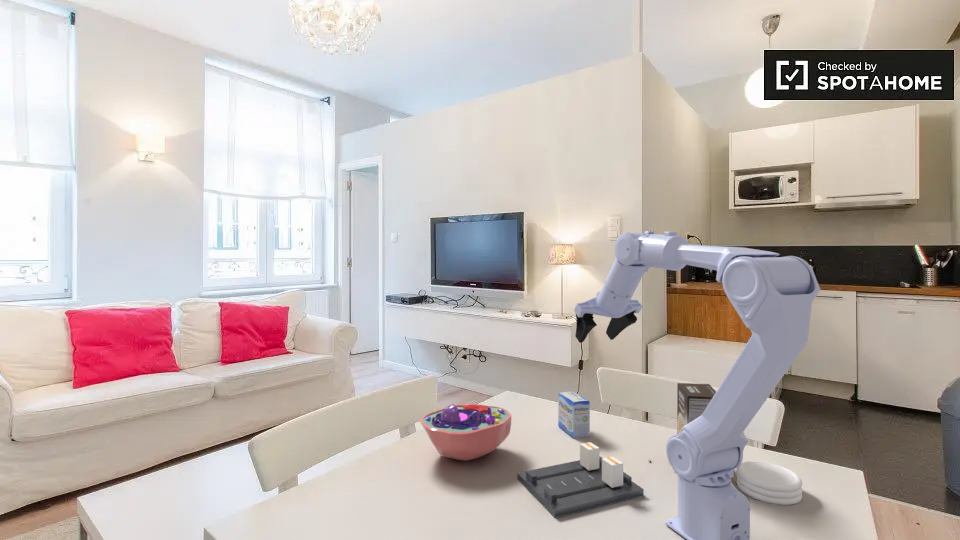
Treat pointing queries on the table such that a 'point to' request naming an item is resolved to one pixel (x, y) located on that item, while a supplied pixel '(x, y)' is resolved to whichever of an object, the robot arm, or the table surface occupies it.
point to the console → (575, 488)
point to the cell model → (467, 430)
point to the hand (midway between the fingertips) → (594, 337)
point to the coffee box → (692, 402)
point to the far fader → (589, 456)
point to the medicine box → (574, 414)
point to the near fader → (612, 471)
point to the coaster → (769, 483)
